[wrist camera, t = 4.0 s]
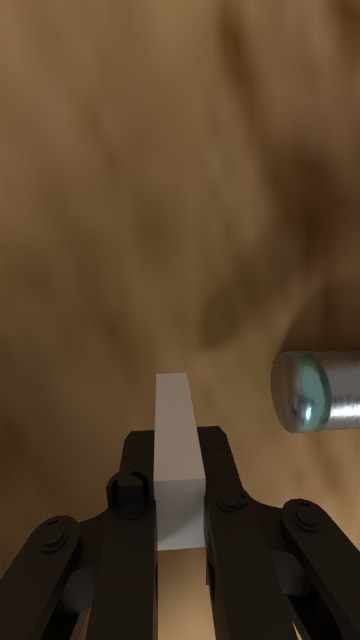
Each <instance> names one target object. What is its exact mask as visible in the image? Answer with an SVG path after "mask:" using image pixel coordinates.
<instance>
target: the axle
mask: <svg viewBox="0 0 360 640" xmlns="http://www.w3.org/2000/svg"><path fill="white" fill-rule="evenodd" d="M271 392H272V399H273V404H274V408H275V411H276V414H277V416H278V419H279V421H280V423H281V424H282V426H283V427H284V428H285V429H286V430H287V431H289V432H291V433H307V432H320V431H323V430H340V429H357V428H360V350H340V351H315V352H309V351H292V352H281V353H279V354H278V355H277V356H276V357H275V359H274V361H273V364H272V369H271Z"/></svg>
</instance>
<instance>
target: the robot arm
mask: <svg viewBox="0 0 360 640" xmlns="http://www.w3.org/2000/svg"><path fill="white" fill-rule="evenodd" d="M106 490H107V499H108V508H107V509H106V510H105V511H104V512H102V513H101V514H100V515H98V516H96V517H93V518H91V519H88V520H86V521H83V522H80V523H78V522H77V521H76V520H75V519H74V518H72V517H70V516H56V517H53V518H50V519H48V520H46V521H45V522H43V523H42V524H40V525H39V526H38V527H37V528H36V529H35V530H34V532H33V533H32V534H31V535H30V537H29V538H28V540H27V541H26V543H25V544H24V546H23V547H22V549H21V550H20V552H19V553H18V555H17V556H16V558H15V559H14V561H13V562H12V564H11V565H10V567H9V568H8V570H7V571H6V573H5V575H4V576H3V578H2V579H1V581H0V640H77V638H78V635H79V632H80V630H81V627H82V625H83V622H84V619H85V617H86V614H87V611H88V608H91V612H90V617H89V623H88V629H87V634H86V640H158V560H157V554H158V551H159V550H173V549H186V548H200V547H205V546H206V554H207V560H206V585H209V591H210V598H211V606H212V613H213V621H214V628H215V636H216V640H298V637H297V634H296V631H295V628H294V625H295V627H296V629H297V631H298V632H299V634H300V636H301V638H302V640H360V551H359V550H358V549H357V548H356V547H355V546H354V544H353V543H352V542H351V541H350V540H349V538H348V537H347V536H346V535H345V534H344V533H343V531H342V530H341V529H340V528H339V527H338V526H337V524H336V523H335V522H334V521H333V520H332V519H331V517H330V516H329V515H328V514H327V513H326V512H325V511H324V510H323V509H322V508H321V507H320V506H319V505H317V504H315V503H313V502H311V501H309V500H304V499H291V500H290V501H288V502H286V503H285V504H284V506H283V508H282V509H281V508H277V507H273V506H268V505H265V504H262V503H259V502H258V501H256V500H254V499H253V498H251V497H250V496H249V494H248V493H247V492H246V491H245V490H244V488H243V486H242V484H241V481H240V478H239V474H238V471H237V468H236V465H235V462H234V458H233V455H232V453H231V449H230V446H229V443H228V439H227V436H226V434H225V433H224V432H223V431H222V430H221V428H220V427H219V426H208V427H196V422H195V417H194V411H193V406H192V400H191V394H190V389H189V383H188V378H187V373H165V374H156V407H155V430H147V431H131V432H130V434H129V435H128V436H127V438H126V439H125V440H124V446H123V453H122V458H121V464H120V470H119V472H118V473H116V474H115V475H114V476H113V477H112V478H111V479H110V480H109V482H108V484H107V487H106ZM292 621H293V622H292ZM293 623H294V625H293Z"/></svg>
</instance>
